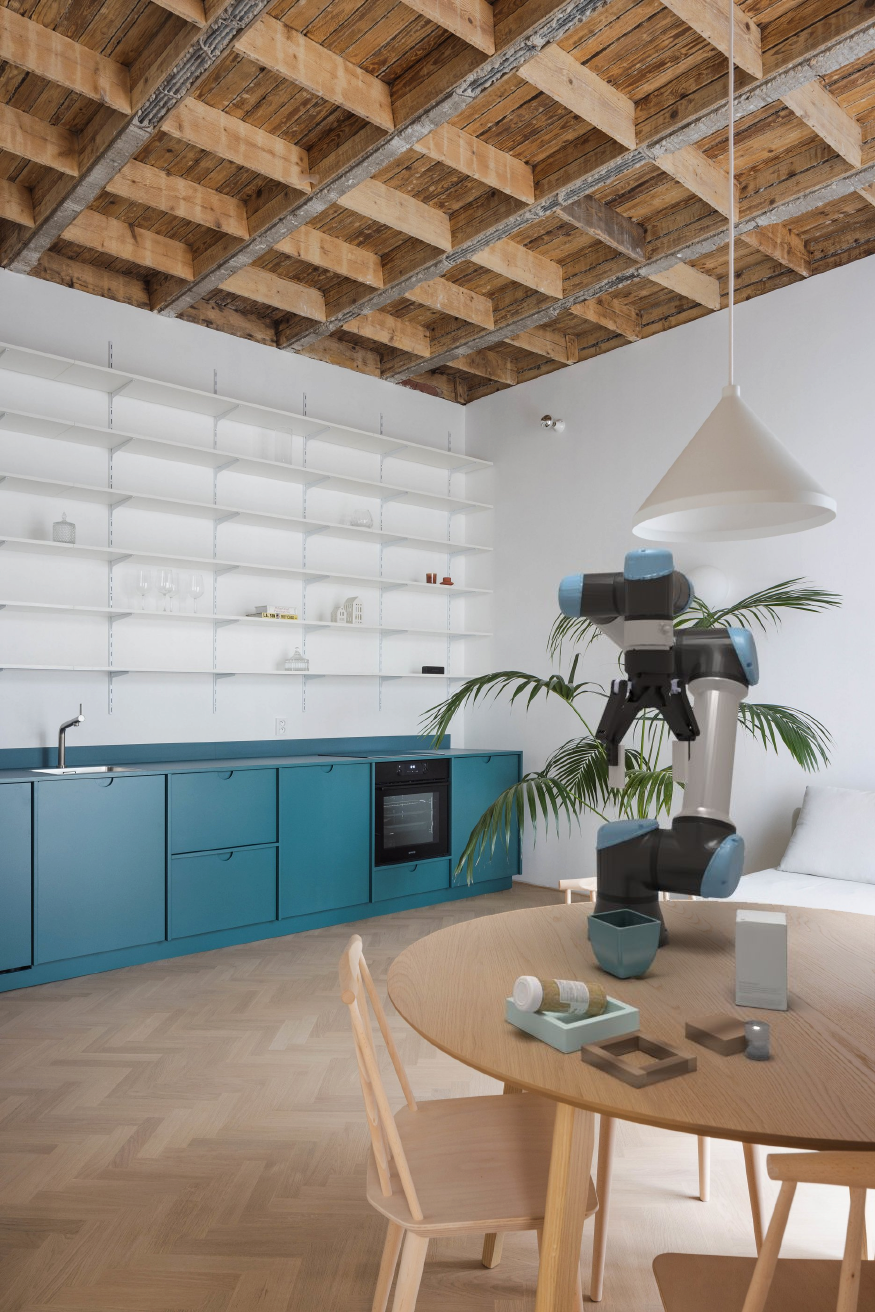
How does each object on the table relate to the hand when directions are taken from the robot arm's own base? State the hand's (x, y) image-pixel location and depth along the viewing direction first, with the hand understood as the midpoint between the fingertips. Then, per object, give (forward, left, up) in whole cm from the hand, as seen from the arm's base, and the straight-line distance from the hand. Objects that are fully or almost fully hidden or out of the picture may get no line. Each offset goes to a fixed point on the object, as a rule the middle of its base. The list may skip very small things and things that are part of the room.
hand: (649, 785), depth 141 cm
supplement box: (+12, +11, -32) cm, 36 cm away
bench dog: (+25, -6, -32) cm, 41 cm away
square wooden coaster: (+20, -6, -32) cm, 38 cm away
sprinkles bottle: (+5, -15, -29) cm, 33 cm away
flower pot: (-8, +2, -32) cm, 33 cm away
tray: (+5, -20, -32) cm, 38 cm away
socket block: (+19, -21, -32) cm, 43 cm away
